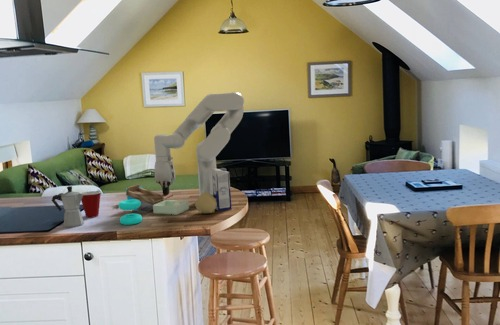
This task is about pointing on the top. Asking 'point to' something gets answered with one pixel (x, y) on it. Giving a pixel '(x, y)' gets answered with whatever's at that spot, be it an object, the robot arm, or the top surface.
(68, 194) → the coffee maker
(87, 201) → the plastic cup
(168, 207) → the tray
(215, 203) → the yellow rounded lump
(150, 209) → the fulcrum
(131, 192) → the chute
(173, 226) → the top surface
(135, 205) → the donuts
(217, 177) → the milk carton
